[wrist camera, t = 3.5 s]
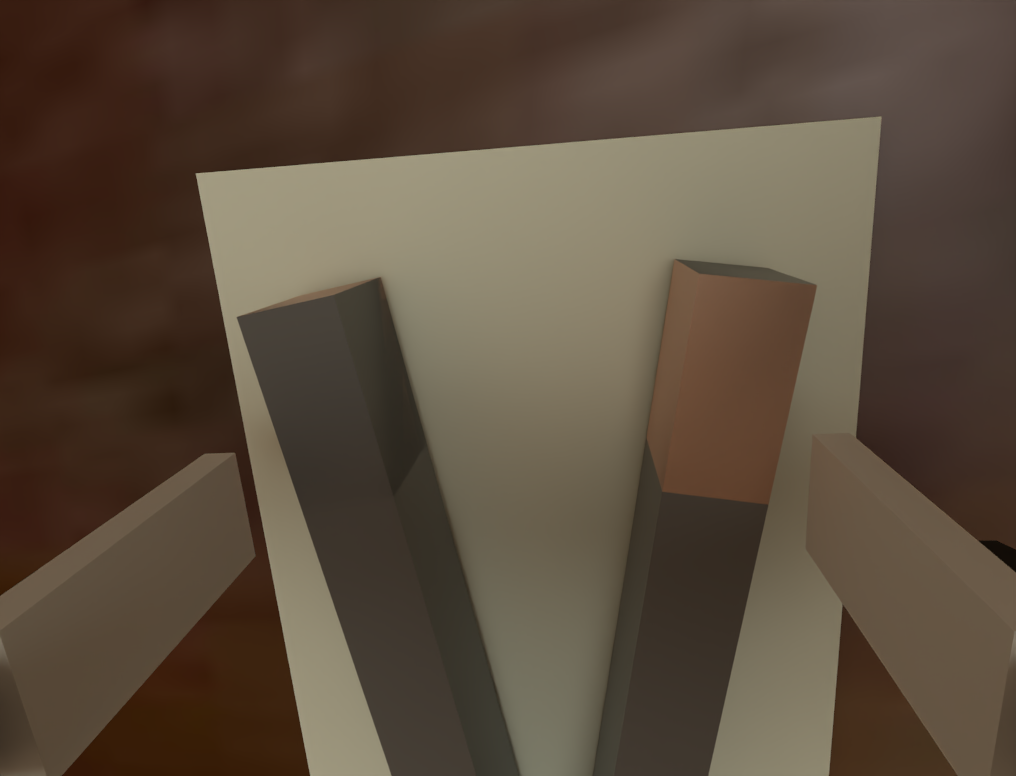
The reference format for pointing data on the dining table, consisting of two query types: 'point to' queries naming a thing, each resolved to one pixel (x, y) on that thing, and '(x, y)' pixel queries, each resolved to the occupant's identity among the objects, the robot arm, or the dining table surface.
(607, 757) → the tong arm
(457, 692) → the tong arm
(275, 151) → the dining table surface
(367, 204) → the tong mat
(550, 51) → the dining table surface
